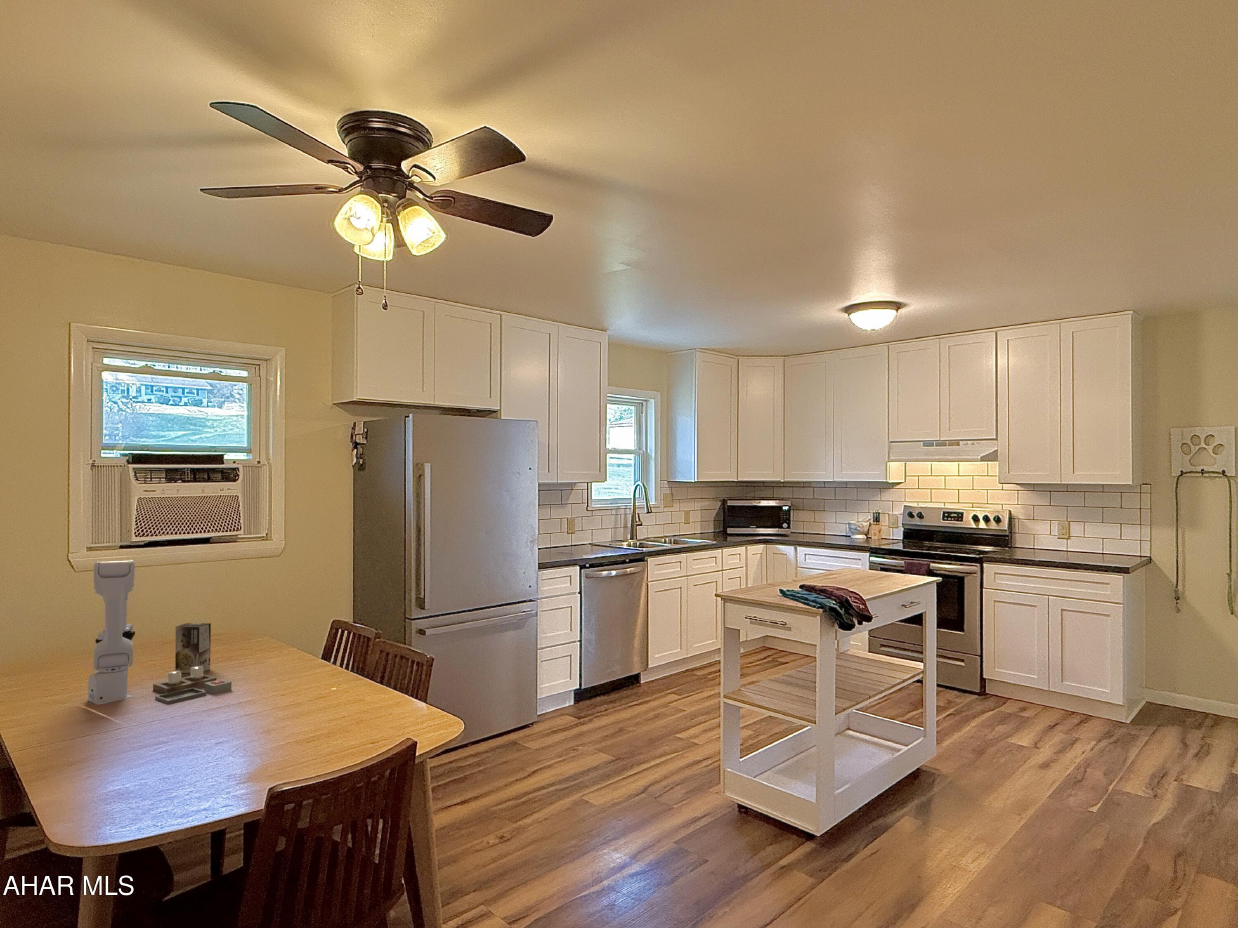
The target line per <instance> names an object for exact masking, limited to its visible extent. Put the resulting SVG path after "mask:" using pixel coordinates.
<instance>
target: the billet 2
mask: <svg viewBox="0 0 1238 928" xmlns="http://www.w3.org/2000/svg"><path fill="white" fill-rule="evenodd" d="M189 674H190V675H189V676H190V681H191V682H193V681H198V680H202V679H203V674H204V672H203V666H195V667H192V668H191V672H190V673H189Z"/></svg>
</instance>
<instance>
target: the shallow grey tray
mask: <svg viewBox="0 0 1238 928" xmlns="http://www.w3.org/2000/svg"><path fill="white" fill-rule="evenodd" d="M204 696H207V692H205V691H204V690H203V689H202V690H201V689H200V688H198V689H196V688H189V689H184V690H180V691H175V692H171V693H166V694H162V693H161V694H158V695H155V696H154V699H155V701H158V702H161V703H164V704H167V705H171V704H175V703H180V702H183V701H188V700H192V699H196V698H200V697H204Z"/></svg>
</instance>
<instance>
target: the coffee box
mask: <svg viewBox="0 0 1238 928" xmlns="http://www.w3.org/2000/svg"><path fill="white" fill-rule="evenodd" d="M211 627H212V623H210V622H209V623H208V622H186V623H183V624H180V625H177V626H175V649H174V650H175V667H174V669H175V670H174V671H181V674H190V672H191V668H192V667H195V666H203V673H204V672H207V671H209V670H211V646H212V645H211V643H212V642H211V639H212V638H211V636H212V635H211V633H212V629H211Z"/></svg>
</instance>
